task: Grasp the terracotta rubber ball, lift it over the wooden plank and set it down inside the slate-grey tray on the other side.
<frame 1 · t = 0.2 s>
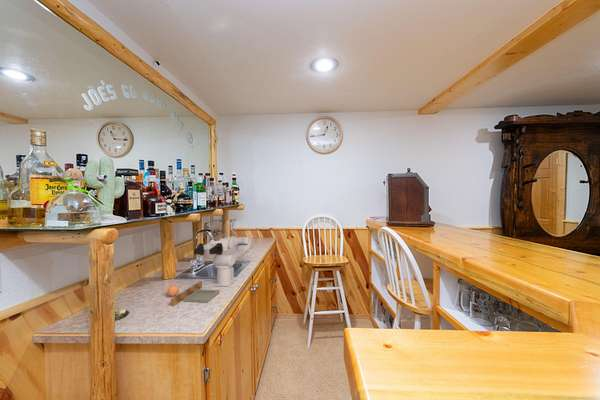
hand: (202, 251, 113), 21 cm above the table, tool horizontal, fingers open, 7 cm apart
ball: (173, 290, 117), point 2 cm above the table
tray: (202, 297, 115), on the table
log: (110, 318, 98), on the table
wooden plank: (188, 295, 117), on the table
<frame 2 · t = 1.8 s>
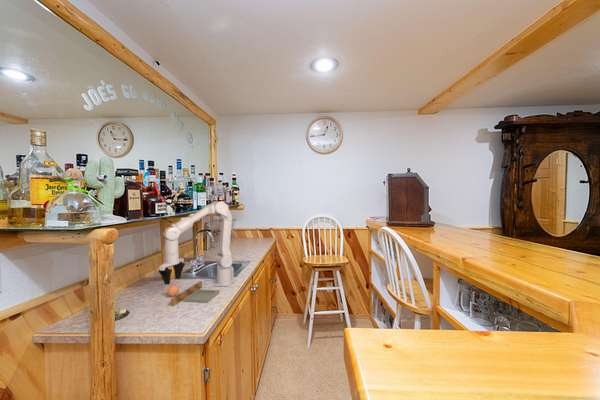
hand: (172, 281, 117), 7 cm above the table, tool pointing down, fingers open, 7 cm apart
nothing on the table moved.
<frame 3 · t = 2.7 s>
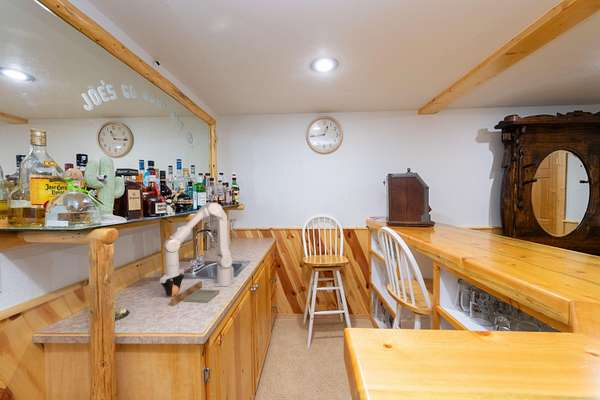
hand: (173, 293, 117), 1 cm above the table, tool pointing down, fingers closed on ball, 5 cm apart
ball: (173, 290, 117), point 2 cm above the table, touching gripper
everything else where it was.
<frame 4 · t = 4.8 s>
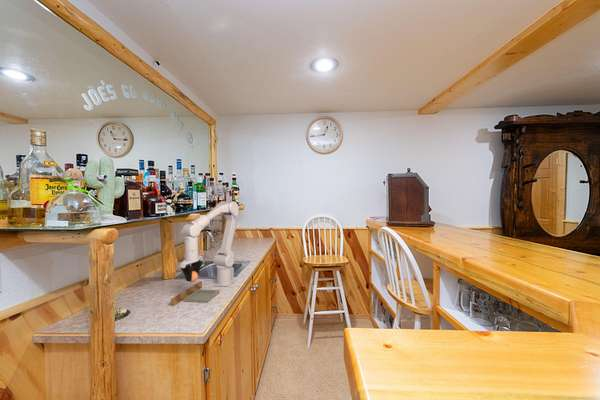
hand: (192, 279, 116), 8 cm above the table, tool pointing down, fingers closed on ball, 5 cm apart
ball: (192, 276, 116), point 9 cm above the table, touching gripper
everything else where it was.
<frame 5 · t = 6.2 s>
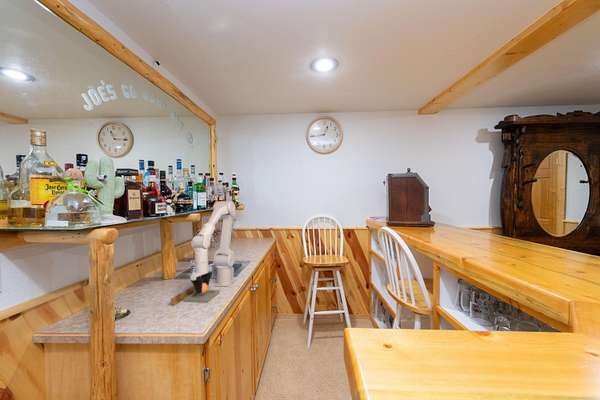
hand: (202, 290, 115), 3 cm above the table, tool pointing down, fingers closed on ball, 5 cm apart
ball: (202, 288, 115), point 4 cm above the table, touching gripper
everything else where it was.
when the fingers open (3 cm above the table, at t = 7.1 s): ball drops 1 cm, resting on tray.
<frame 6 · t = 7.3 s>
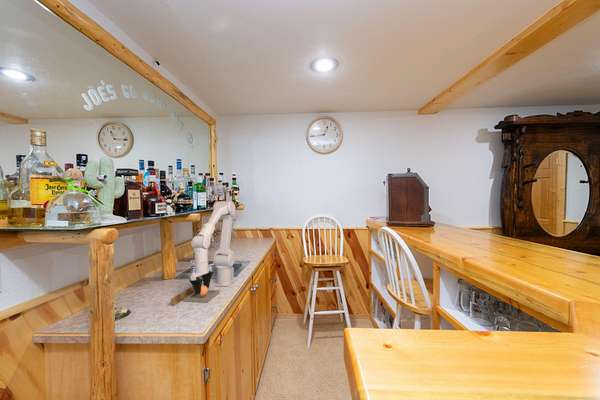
hand: (202, 290, 115), 3 cm above the table, tool pointing down, fingers open, 7 cm apart
ball: (202, 291, 115), point 3 cm above the table, touching tray
everything else where it was.
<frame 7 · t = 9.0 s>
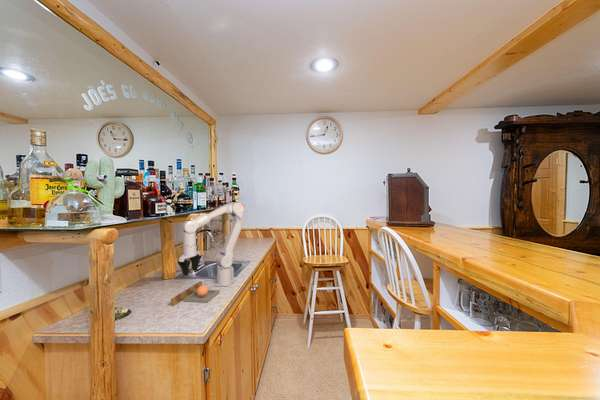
hand: (190, 272, 122), 9 cm above the table, tool pointing down, fingers open, 7 cm apart
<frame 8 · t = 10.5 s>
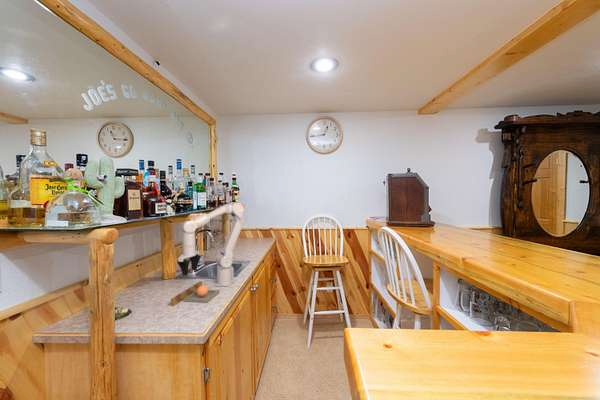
hand: (189, 272, 122), 9 cm above the table, tool pointing down, fingers open, 7 cm apart
at the end: ball 0.0 cm off-centre on the tray, point 2.9 cm above the tray's base; the gripper is holding nothing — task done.
